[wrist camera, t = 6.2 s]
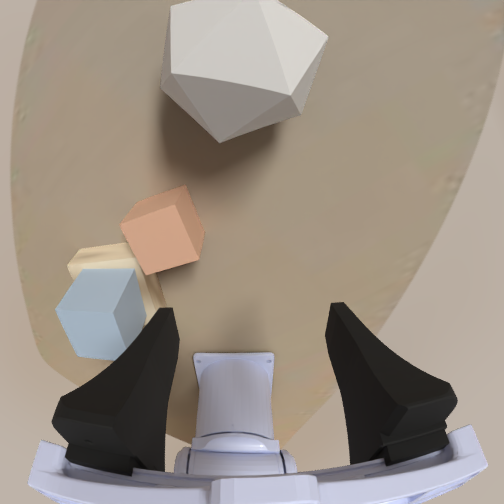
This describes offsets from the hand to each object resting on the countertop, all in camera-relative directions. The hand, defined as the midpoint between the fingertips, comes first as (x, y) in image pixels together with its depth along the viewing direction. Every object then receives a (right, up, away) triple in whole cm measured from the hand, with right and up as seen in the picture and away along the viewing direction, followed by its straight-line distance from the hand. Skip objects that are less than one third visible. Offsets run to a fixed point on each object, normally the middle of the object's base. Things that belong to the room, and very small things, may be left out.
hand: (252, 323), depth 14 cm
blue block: (-11, 0, +9) cm, 14 cm away
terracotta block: (-6, +6, +9) cm, 12 cm away
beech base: (-11, +1, +11) cm, 16 cm away
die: (-1, +15, +4) cm, 16 cm away
